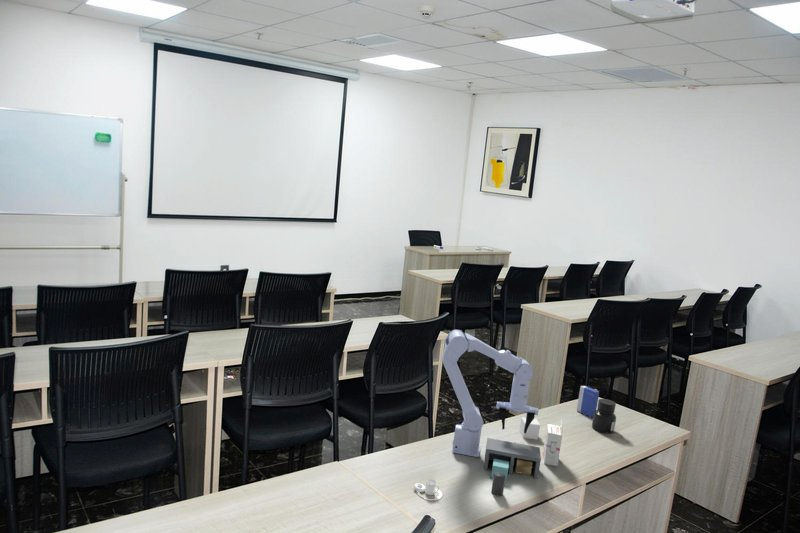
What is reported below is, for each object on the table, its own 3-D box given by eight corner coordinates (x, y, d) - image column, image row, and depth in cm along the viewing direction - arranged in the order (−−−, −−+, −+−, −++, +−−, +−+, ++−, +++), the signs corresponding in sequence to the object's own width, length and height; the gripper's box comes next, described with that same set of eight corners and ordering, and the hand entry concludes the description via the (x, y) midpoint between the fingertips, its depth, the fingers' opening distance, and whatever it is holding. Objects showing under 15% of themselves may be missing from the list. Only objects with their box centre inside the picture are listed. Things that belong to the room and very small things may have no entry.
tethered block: (488, 494, 181) (491, 476, 180) (492, 471, 196) (494, 454, 195) (504, 497, 180) (507, 479, 179) (507, 474, 195) (509, 457, 194)
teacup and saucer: (409, 490, 179) (411, 477, 178) (429, 484, 184) (431, 472, 183) (427, 504, 172) (429, 491, 171) (447, 498, 177) (449, 485, 176)
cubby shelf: (483, 468, 197) (486, 448, 196) (484, 457, 206) (487, 437, 205) (537, 479, 194) (540, 458, 193) (536, 466, 203) (539, 447, 202)
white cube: (534, 432, 232) (536, 418, 231) (538, 439, 226) (540, 424, 225) (519, 431, 232) (521, 417, 231) (522, 438, 226) (524, 423, 225)
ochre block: (515, 472, 197) (517, 459, 197) (515, 465, 202) (516, 453, 202) (530, 474, 197) (532, 462, 196) (529, 468, 202) (531, 455, 201)
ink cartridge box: (542, 453, 214) (548, 415, 212) (556, 456, 213) (562, 417, 211) (543, 464, 206) (549, 424, 203) (557, 466, 205) (564, 427, 203)
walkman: (595, 416, 257) (599, 390, 255) (591, 417, 255) (596, 391, 253) (579, 410, 263) (583, 384, 261) (576, 411, 261) (580, 385, 259)
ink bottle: (617, 435, 238) (622, 407, 237) (595, 433, 238) (600, 405, 237) (609, 425, 248) (613, 398, 246) (588, 423, 248) (592, 396, 246)
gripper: (498, 394, 204) (493, 431, 206) (540, 401, 201) (535, 438, 203) (498, 387, 211) (493, 423, 213) (539, 394, 208) (534, 430, 210)
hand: (514, 430), depth 208 cm, fingers open, 7 cm apart
